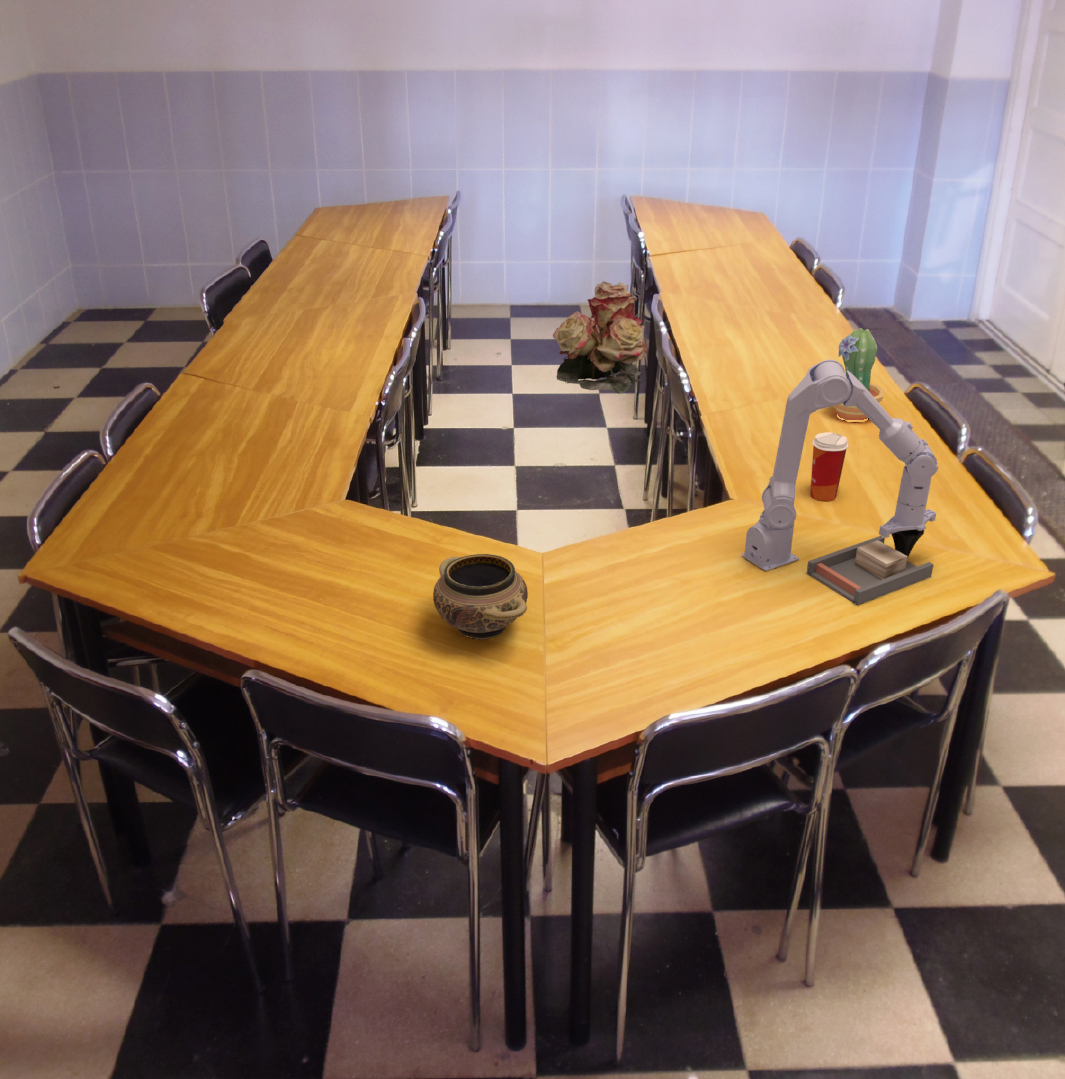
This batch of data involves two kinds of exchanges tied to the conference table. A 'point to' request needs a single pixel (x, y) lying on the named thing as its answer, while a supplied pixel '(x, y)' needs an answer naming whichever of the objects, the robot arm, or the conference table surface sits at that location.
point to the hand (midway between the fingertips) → (901, 557)
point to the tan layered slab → (880, 559)
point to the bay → (861, 575)
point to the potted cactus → (859, 368)
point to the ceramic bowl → (480, 594)
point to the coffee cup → (827, 465)
